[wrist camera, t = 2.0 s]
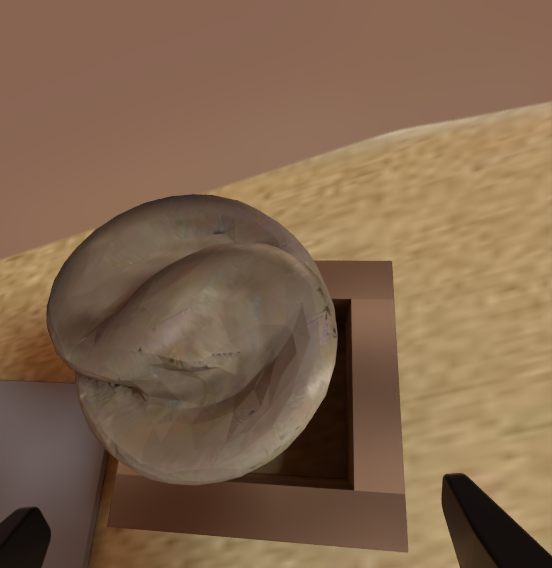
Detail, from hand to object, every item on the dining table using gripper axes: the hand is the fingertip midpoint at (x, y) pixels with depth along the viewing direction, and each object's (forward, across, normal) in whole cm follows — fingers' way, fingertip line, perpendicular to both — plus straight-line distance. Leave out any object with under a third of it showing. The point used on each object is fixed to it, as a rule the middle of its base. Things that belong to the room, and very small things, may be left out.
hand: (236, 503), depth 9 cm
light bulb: (+10, 0, +5) cm, 11 cm away
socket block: (+10, 0, +5) cm, 11 cm away
